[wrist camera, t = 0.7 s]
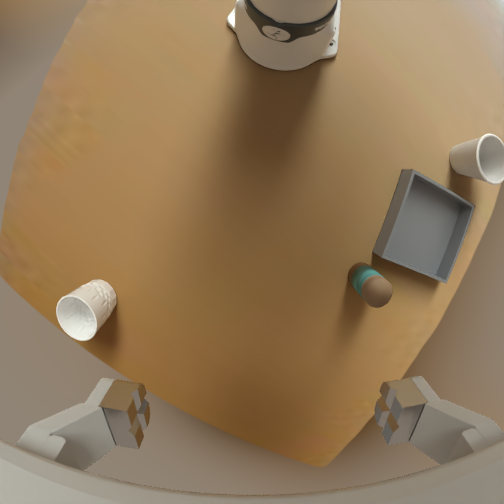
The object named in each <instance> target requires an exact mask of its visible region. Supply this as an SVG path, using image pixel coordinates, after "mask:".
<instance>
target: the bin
mask: <svg viewBox="0 0 504 504" xmlns="http://www.w3.org/2000/svg"><path fill="white" fill-rule="evenodd" d="M474 207H475V206H474V205H473V204H471V203H470V202H468V201H467V200H465V199H463V198H462V197H460V196H459V195H457V194H455V193H454V192H452V191H450V190H449V189H447V188H445V187H444V186H442V185H440V184H438V183H437V182H435V181H433V180H431V179H430V178H428V177H426V176H424V175H422V174H421V173H419V172H417V171H415V170H413V169H410V170H402V172H401V175H400V178H399V181H398V184H397V187H396V190H395V193H394V196H393V199H392V201H391V204H390V207H389V210H388V213H387V215H386V218H385V221H384V223H383V226H382V229H381V231H380V234H379V237H378V239H377V242H376V244H375V247H374V249H373V252H374V253H375V254H377V255H378V256H380V257H381V258H384V259H386V260H389V261H391V262H394V263H397V264H399V265H402V266H404V267H407V268H409V269H412V270H414V271H417V272H419V273H422V274H424V275H426V276H429V277H431V278H434V279H436V280H439V281H441V282H443V283H447V281H448V278H449V276H450V274H451V271H452V269H453V266H454V264H455V261H456V259H457V256H458V254H459V251H460V248H461V246H462V243H463V240H464V238H465V235H466V232H467V229H468V226H469V223H470V220H471V217H472V214H473V211H474Z"/></svg>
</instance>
